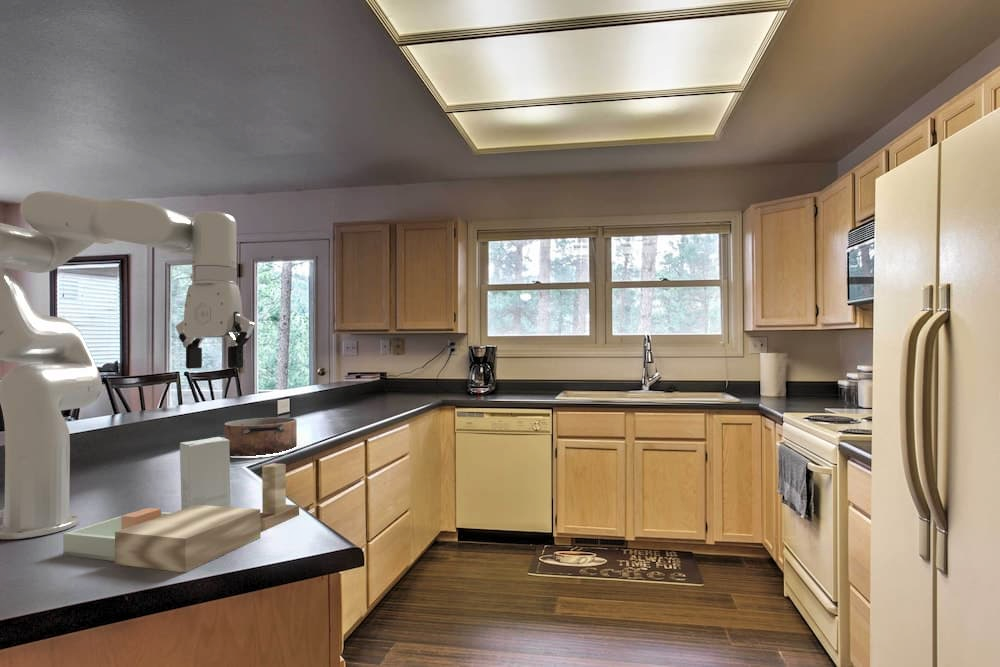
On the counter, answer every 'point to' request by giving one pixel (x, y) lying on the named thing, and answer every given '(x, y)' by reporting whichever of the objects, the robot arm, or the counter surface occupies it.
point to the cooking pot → (260, 436)
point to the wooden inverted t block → (275, 497)
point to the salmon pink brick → (139, 517)
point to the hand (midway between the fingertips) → (214, 368)
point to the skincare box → (205, 472)
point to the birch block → (186, 537)
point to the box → (94, 540)
